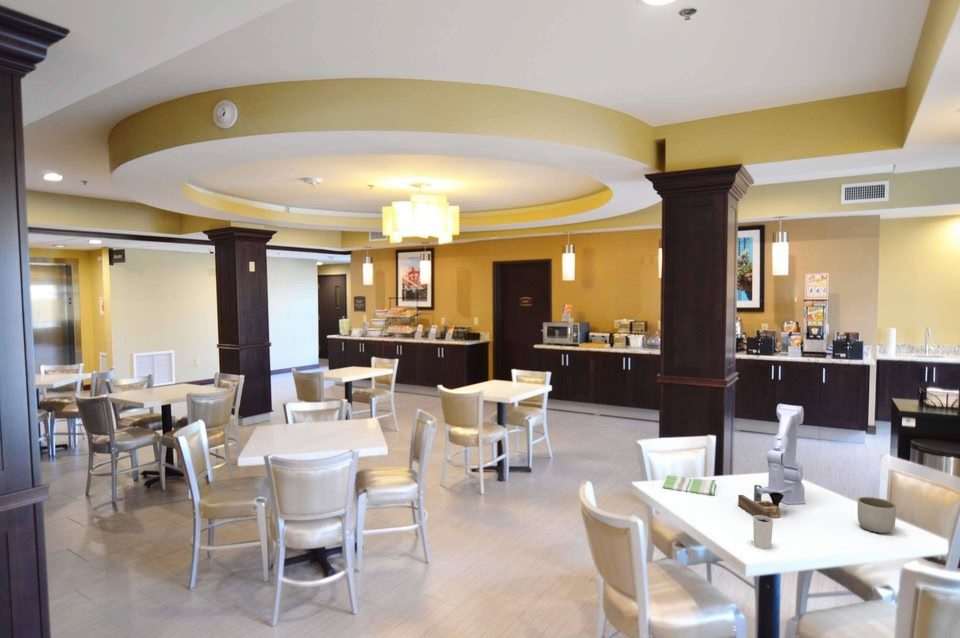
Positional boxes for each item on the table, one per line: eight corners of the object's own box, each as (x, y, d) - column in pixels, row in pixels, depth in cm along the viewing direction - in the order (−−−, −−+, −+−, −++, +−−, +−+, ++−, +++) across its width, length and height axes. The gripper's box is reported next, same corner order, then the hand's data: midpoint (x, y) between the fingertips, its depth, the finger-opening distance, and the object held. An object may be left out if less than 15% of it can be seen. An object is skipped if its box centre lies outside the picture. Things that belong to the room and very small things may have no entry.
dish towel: (714, 497, 259) (714, 490, 258) (662, 489, 269) (662, 482, 268) (716, 486, 274) (716, 479, 274) (667, 479, 284) (667, 472, 284)
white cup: (750, 540, 212) (751, 514, 211) (770, 542, 210) (771, 516, 210) (754, 547, 206) (754, 521, 205) (774, 550, 204) (775, 523, 203)
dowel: (758, 502, 251) (759, 484, 251) (762, 504, 248) (763, 487, 248) (752, 502, 251) (752, 485, 251) (756, 505, 248) (756, 487, 248)
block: (768, 510, 242) (768, 500, 242) (779, 517, 234) (780, 507, 234) (750, 510, 241) (750, 501, 241) (761, 518, 233) (761, 508, 233)
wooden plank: (742, 505, 247) (742, 494, 247) (770, 524, 227) (770, 512, 227) (738, 506, 247) (738, 494, 247) (765, 524, 227) (765, 512, 227)
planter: (875, 536, 216) (876, 509, 215) (849, 524, 228) (850, 497, 228) (903, 535, 218) (904, 507, 217) (876, 522, 230) (877, 496, 230)
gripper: (765, 481, 232) (764, 513, 233) (798, 480, 234) (797, 512, 234) (755, 476, 239) (754, 507, 240) (787, 475, 241) (786, 506, 241)
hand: (775, 509), depth 238 cm, fingers closed, pressing on block
